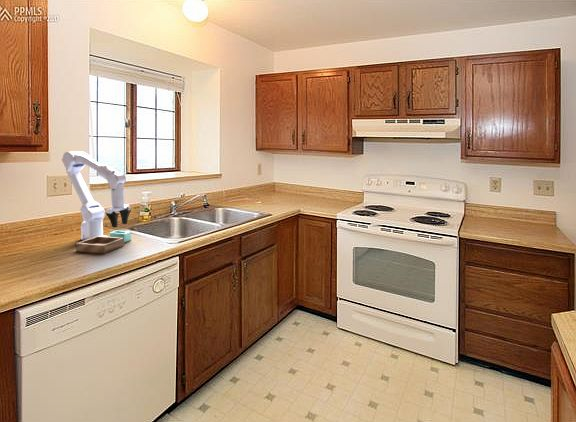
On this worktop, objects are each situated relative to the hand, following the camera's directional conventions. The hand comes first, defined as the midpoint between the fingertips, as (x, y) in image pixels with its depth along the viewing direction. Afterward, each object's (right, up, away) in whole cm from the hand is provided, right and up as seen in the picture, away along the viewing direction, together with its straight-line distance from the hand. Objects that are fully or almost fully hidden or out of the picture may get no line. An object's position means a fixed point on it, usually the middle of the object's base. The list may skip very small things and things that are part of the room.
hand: (119, 225), depth 187 cm
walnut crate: (-3, -10, -12) cm, 16 cm away
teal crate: (0, -8, +1) cm, 8 cm away
